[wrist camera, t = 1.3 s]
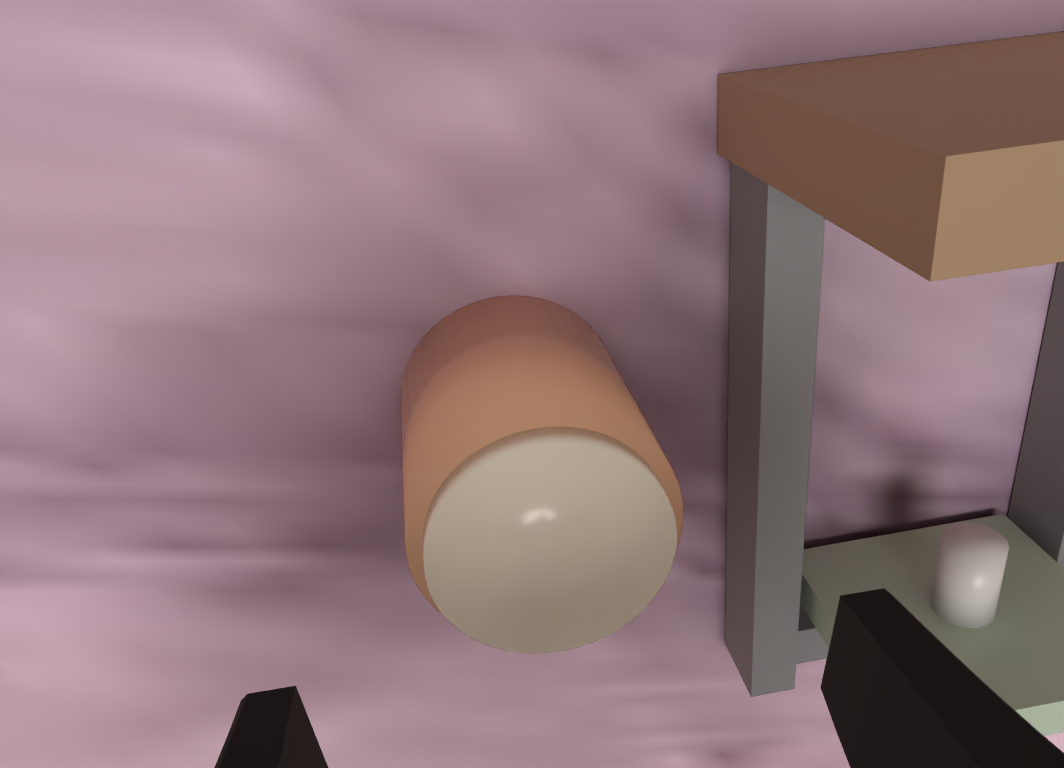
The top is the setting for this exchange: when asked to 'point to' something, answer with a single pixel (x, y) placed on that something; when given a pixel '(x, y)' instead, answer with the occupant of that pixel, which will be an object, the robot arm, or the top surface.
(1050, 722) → the pusher paddle
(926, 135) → the pusher lane
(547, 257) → the top surface
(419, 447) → the terracotta jar
